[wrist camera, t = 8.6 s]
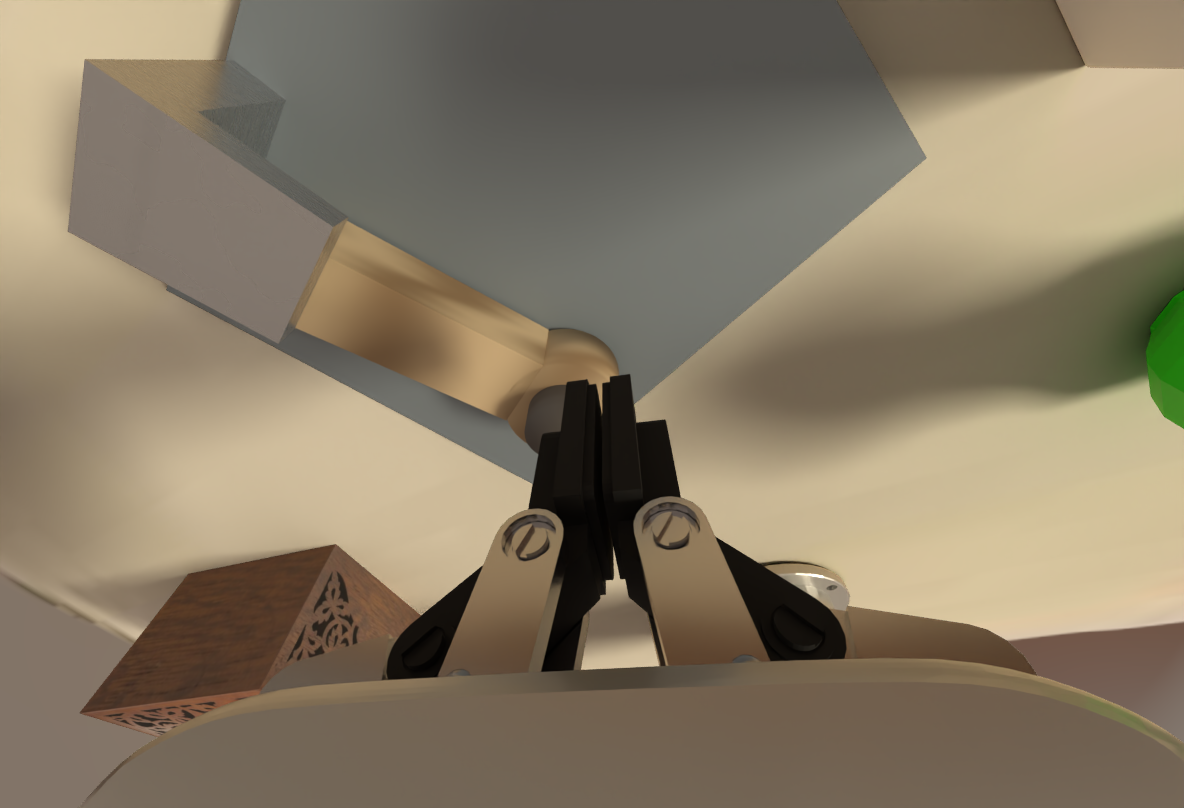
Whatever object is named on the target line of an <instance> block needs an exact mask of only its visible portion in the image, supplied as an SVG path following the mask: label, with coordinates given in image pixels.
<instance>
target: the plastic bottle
mask: <svg viewBox="0 0 1184 808" xmlns="http://www.w3.org/2000/svg"><path fill="white" fill-rule="evenodd" d="M1150 331H1151V336H1150V340H1149V344H1148V346H1147V349H1146V359H1147V369H1148V377H1149V385H1150V394H1151V397H1152V399H1153V400H1154V402H1155V403H1156V405H1157V406H1158V408H1159V410H1160V411H1161V413H1162V414H1163V416H1164V417H1165V418H1167V419H1169V420H1170V421H1172V422H1173V423H1175V424H1177V425H1178V426H1180V427H1182V428H1183V429H1184V290H1183V291H1181V292H1180V293H1178V294H1177V295H1175V296H1174V297H1173V298H1172V300H1171V301H1170V302H1169V303H1168V305H1167V306H1166V307H1165V308H1164V310H1163V311H1162V312H1161V313H1160V315H1159V316H1158V317H1157V319H1156V320H1155V321H1154V322H1153V324H1152V325H1151V326H1150Z"/></svg>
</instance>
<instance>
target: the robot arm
mask: <svg viewBox="0 0 1184 808" xmlns="http://www.w3.org/2000/svg"><path fill="white" fill-rule="evenodd" d="M613 547H614V551H615V556H616V561H617V566H618V570H619V575H620V579H625V580H626V585H627V590H628V595H629V597H630V598H631V599H632V600H633V601H634V602H635V603H637V604H638V605H639V606H640V607H641V608H643V609H644V610H645V611H646V612H647V617H648V621H649V625H650V629H651V634H652V638H653V642H654V646H655V650H656V654H657V659H658V663H659V666H656V667H635V668H614V669H593V670H581V665H582V660H583V654H584V648H585V642H586V636H587V631H588V625H589V610H590V609H591V608H592V607H593V606H594V605H595V604H596V603H597V602H598V601H599V600H600V595H606V580H613V579H614V563H613ZM849 602H850V595H849V592H848V590H847V588H846V585H845V583H844V582H843V580H842V579H841V577H839V576H838V575H837V574H835V573H834V572H832V571H830V570H827V569H825V568H822V567H818V566H814V565H807V564H775V565H767V566H762V565H761V564H759V563H757V562H756V561H754V560H753V559H751V558H749V557H748V556H746V555H744V554H743V553H741V552H740V551H738V550H736V549H735V548H733V547H731V546H730V545H728V544H726V543H725V542H723V541H722V540H720V539H718V538H717V537H715V535H714V533H713V531H712V529H711V526H710V524H709V522H708V520H707V517H706V516H705V514H704V513H703V511H702V510H701V509H700V508H699V507H698V506H697V505H695V504H694V503H693V502H691V501H688V500H686V499H684V498H681V496H680V491H679V486H678V481H677V476H676V470H675V465H674V460H673V455H672V450H671V445H670V440H669V434H668V429H667V424H666V420H657V421H648V422H639V423H636V416H635V408H634V400H633V392H632V384H631V376H630V374H626V375H618V376H610V382H605V383H602V411H601V406H600V400H599V395H598V389H597V385H596V384H589V382H588V379H585V380H577V381H569V382H567V384H566V391H565V399H564V407H563V415H562V423H561V431H558V432H549V433H543V434H542V437H541V442H540V447H539V453H538V458H537V464H536V469H535V475H534V481H533V486H532V492H531V497H530V503H529V508H528V510H525V511H522V512H519V513H517V514H515V515H514V516H512V517H510V518H509V519H508V520H507V521H506V522H505V523H504V524H503V525H502V526H501V527H500V529H499V530H498V532H497V534H496V536H495V538H494V540H493V543H492V545H491V548H490V550H489V553H488V555H487V557H486V560H485V562H484V565H483V566H481V567H480V568H479V569H478V570H477V571H475V572H474V573H473V574H472V575H470V576H469V577H468V578H467V579H466V580H464V581H463V582H462V583H461V584H459V585H458V586H457V587H456V588H454V589H453V590H452V591H451V592H450V593H448V594H447V595H446V596H445V597H443V598H442V599H441V600H440V601H439V602H437V603H436V604H435V605H434V606H432V607H431V608H430V609H429V610H428V611H426V612H425V613H424V614H423V615H421V616H420V617H419V618H418V619H416V620H415V621H414V622H413V623H412V624H410V625H409V626H408V627H407V628H406V629H405V630H404V631H403V632H402V633H401V634H400V636H398V637H394V638H393V637H392V636H391V635H390V634H387V635H384V636H380V637H377V638H374V639H370V640H367V641H364V642H360V643H357V644H354V645H350V646H347V647H344V648H340V649H337V650H334V651H330V652H327V653H324V654H320V655H317V656H314V657H310V658H307V659H304V660H300V661H297V662H295V663H293V664H291V665H289V666H287V667H285V668H284V669H282V670H281V671H280V672H279V673H277V674H276V675H275V676H273V677H272V678H271V679H270V681H269V682H268V683H267V684H266V685H265V686H264V688H263V689H262V690H261V691H260V693H259V695H255V696H251V697H247V698H244V699H241V700H238V701H235V702H231V703H229V704H226V705H224V706H221V707H218V708H216V709H213V710H211V711H209V712H206V713H204V714H202V715H200V716H198V717H195V718H193V719H191V720H189V721H187V722H184V723H182V724H180V725H178V726H176V727H175V728H173V729H171V730H169V731H167V732H166V733H164V734H162V735H161V736H159V737H157V738H156V739H154V740H153V741H151V742H149V743H148V744H146V745H145V746H143V747H141V748H140V749H138V750H137V751H136V752H134V753H133V754H132V755H131V756H129V757H128V758H127V759H126V760H124V761H123V762H122V763H120V764H119V765H118V766H117V767H116V768H115V769H114V770H113V771H112V772H111V773H110V774H109V775H108V776H107V777H106V778H105V779H104V780H103V781H102V782H101V783H100V784H99V785H98V786H97V788H96V789H94V791H93V792H92V793H91V794H90V795H89V796H88V797H87V798H86V799H85V800H84V802H83V803H82V804H81V805H80V807H79V808H1184V743H1183V742H1182V741H1180V740H1179V739H1178V738H1176V737H1175V736H1173V735H1172V734H1170V733H1169V732H1167V731H1166V730H1165V729H1163V728H1161V727H1160V726H1157V725H1156V724H1154V723H1153V722H1151V721H1149V720H1147V719H1145V718H1143V717H1141V716H1140V715H1138V714H1136V713H1134V712H1132V711H1130V710H1128V709H1126V708H1124V707H1121V706H1119V705H1117V704H1114V703H1112V702H1110V701H1107V700H1104V699H1102V698H1100V697H1097V696H1095V695H1093V694H1090V693H1088V692H1086V691H1083V690H1080V689H1077V688H1074V687H1071V686H1068V685H1065V684H1062V683H1059V682H1056V681H1053V680H1050V679H1047V678H1044V677H1040V676H1037V674H1036V672H1035V671H1034V669H1033V668H1032V666H1031V665H1030V664H1029V662H1028V661H1027V659H1026V658H1025V657H1024V655H1023V654H1022V653H1021V652H1019V651H1018V650H1017V649H1016V648H1015V647H1014V646H1013V645H1011V644H1010V643H1009V642H1008V641H1007V640H1005V639H1003V638H1001V637H1000V636H998V635H996V634H994V633H992V632H991V631H989V630H986V629H983V628H980V627H976V626H973V625H969V624H963V623H957V622H950V621H943V620H937V619H930V618H924V617H917V616H910V615H904V614H897V613H891V612H884V611H877V610H871V609H864V608H858V607H851V606H848V604H849Z"/></svg>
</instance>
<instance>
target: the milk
mask: <svg viewBox="0 0 1184 808" xmlns="http://www.w3.org/2000/svg"><path fill="white" fill-rule="evenodd" d="M1056 3H1057V5H1058V7H1059V9H1060V11H1061V13H1062V16H1063V18H1064V20H1065V22H1066V24H1067V26H1068V29H1069V31H1070V33H1071V35H1072V37H1073V39H1074V42H1075V44H1076V46H1077V48H1078V50H1079V52H1080V55H1081V57H1082V59H1083V61H1084V63H1085V65H1086V66H1087V67H1090V68H1162V69H1184V0H1056Z"/></svg>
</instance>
